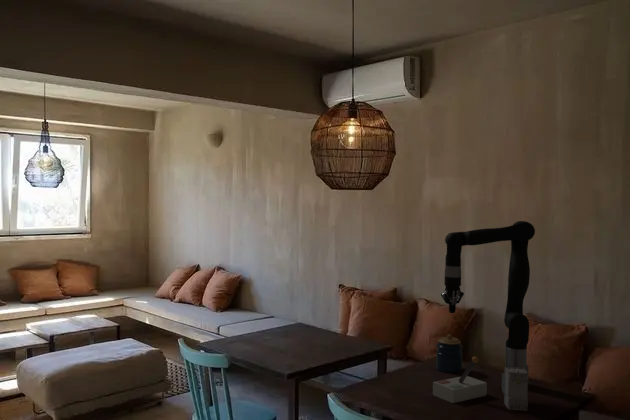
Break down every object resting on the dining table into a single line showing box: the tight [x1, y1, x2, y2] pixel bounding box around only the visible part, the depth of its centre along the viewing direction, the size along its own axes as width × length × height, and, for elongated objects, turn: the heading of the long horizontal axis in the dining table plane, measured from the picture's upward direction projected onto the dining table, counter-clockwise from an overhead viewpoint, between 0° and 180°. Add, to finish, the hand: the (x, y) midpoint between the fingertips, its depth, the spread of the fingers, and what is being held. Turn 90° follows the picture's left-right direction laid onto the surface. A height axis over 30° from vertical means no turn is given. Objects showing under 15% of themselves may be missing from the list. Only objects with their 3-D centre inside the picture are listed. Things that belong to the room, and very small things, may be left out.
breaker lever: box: [459, 356, 479, 383], centre depth 243 cm, size 3×3×15 cm
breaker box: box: [432, 375, 488, 404], centre depth 247 cm, size 20×12×6 cm, turn 121°
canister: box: [435, 333, 464, 374], centre depth 286 cm, size 13×13×18 cm
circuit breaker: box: [501, 366, 529, 411], centre depth 237 cm, size 8×14×15 cm, turn 174°
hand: (452, 312), depth 266 cm, fingers closed
